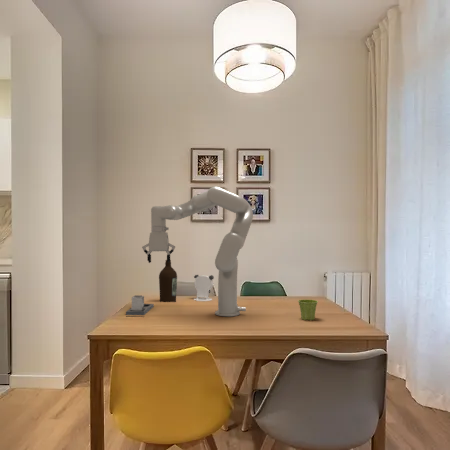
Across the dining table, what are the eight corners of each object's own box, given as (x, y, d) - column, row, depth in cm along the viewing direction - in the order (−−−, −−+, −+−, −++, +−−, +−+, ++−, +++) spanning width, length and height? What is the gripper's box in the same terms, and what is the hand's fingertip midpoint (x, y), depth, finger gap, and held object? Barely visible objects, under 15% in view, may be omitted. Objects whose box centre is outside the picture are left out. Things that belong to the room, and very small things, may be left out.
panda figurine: (215, 298, 254) (215, 274, 254) (210, 301, 243) (210, 276, 243) (196, 297, 257) (196, 273, 257) (191, 300, 246) (191, 275, 246)
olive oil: (156, 303, 236) (156, 260, 236) (162, 300, 246) (162, 259, 247) (173, 304, 234) (174, 260, 234) (179, 301, 244) (179, 259, 245)
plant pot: (306, 322, 190) (306, 303, 190) (294, 318, 198) (294, 300, 198) (321, 320, 194) (322, 301, 194) (309, 316, 203) (309, 298, 203)
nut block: (143, 311, 207) (144, 295, 207) (141, 313, 202) (141, 296, 202) (134, 311, 207) (134, 295, 207) (131, 313, 202) (131, 296, 202)
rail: (153, 308, 221) (153, 303, 221) (144, 317, 199) (144, 311, 199) (137, 308, 221) (137, 303, 222) (125, 316, 199) (125, 311, 200)
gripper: (176, 229, 218) (176, 261, 217) (143, 230, 218) (144, 262, 218) (173, 229, 210) (174, 262, 210) (140, 229, 210) (140, 263, 210)
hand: (158, 262), depth 214 cm, fingers open, 9 cm apart
